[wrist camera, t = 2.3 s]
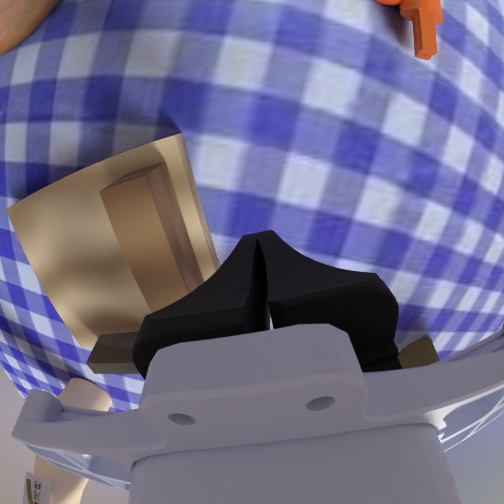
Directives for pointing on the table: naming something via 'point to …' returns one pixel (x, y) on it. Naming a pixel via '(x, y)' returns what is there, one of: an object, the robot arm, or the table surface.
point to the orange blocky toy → (421, 23)
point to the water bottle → (53, 478)
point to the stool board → (102, 250)
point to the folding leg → (153, 235)
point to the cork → (418, 354)
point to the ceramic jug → (21, 20)
